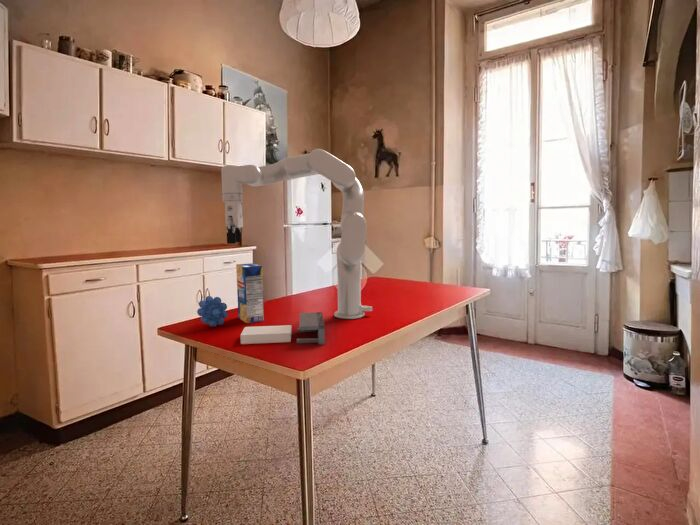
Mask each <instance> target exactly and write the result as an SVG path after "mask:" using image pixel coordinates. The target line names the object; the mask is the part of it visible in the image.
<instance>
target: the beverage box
mask: <svg viewBox="0 0 700 525" xmlns="http://www.w3.org/2000/svg"><path fill="white" fill-rule="evenodd" d="M236 289H237V290H236V292H237V312H238V314H237V315H238V316H237V318H238V319H240V320H241V321H243V322H244V323H246V324H253V323H258V322H259V323H260V322H264V321H265V317H264V314H265V313H264V312H265V311H264V285H263V266H262V265H260V264H256V263H251V262H250V263H238V264H236Z"/></svg>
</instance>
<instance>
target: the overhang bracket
mask: <svg viewBox="0 0 700 525" xmlns="http://www.w3.org/2000/svg"><path fill="white" fill-rule="evenodd" d="M296 331H297V332H296V333H315V332H316V334H317V337H314V338H312V337H311V338H307V337H306V338H296V344H313V343H315V344H316V343H317V344H318V346H319V345H320V346H321V345H325V344H326V343H325V342H326V341H325V340H326V338H325V336H326V334H325V332H326V331H325V321H324V315H323V312H322V311H321V312H300V313H299V327H298V328H297V330H296Z"/></svg>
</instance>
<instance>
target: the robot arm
mask: <svg viewBox="0 0 700 525" xmlns="http://www.w3.org/2000/svg"><path fill="white" fill-rule="evenodd" d="M220 172H221V190H222V192H221V193H222V203H224V220H225V227H226V243H227V244H229V245H231V244H233V245H235V244H237V243H241V242H242V229H241V228H243V227H244V218H243V217H244V216H243V215H244V214H243V206H242V203H244V201H243V200H244V198H243V197H244V196H243V195H244V194H243V192H244V191H243V185H248V186H250V187H260V186H265V185H271V184H276V183H280V182H287V181H290V180H294V179H299V178H304V177H309V176H310V177H311V176H316V175H321V176H322V177H324V178H326V179H327V180H329V181H331V182H332V184H333V186H334V187H335V188H336V189H337V190H339V191H340V192H341V194H342V210H341V218H340V225H339V226H340V229H341V238H340V242H339V243H338V245H337V248H336V265H337V266H336V267H337V270H336V272H337V310H336V311H335V312H334V314H333V315H334V317H335V318H338V319H341V320H342V319H343V320H354V319H361V318H363V317H365V313H366V312H373V306H372V305H371V306H369V305H362V302H361V300H362V297H361V296H362V293H361V292H362V284H361V279H362V277H361V276H362V273H361V272H362V270H361V261H362V260H363V259H364V255H365V250H366V242H367V240H366V239H367V230H368V228H367V227H368V226H367V223H368V222H367V219H366V218H365V216H364V207H365V206H364V203H365V193H364V189H363V186H362V184H361V183H360V182H361V181H360V180H359V179H358V178H357V177H356V176H357V175H356V173H355V170H354V169H353V167H351V166H350V165H349V164H347V163H346V162H344V161H343V160H341V159H339V158H338V157H336V156H334V155H333V154H331V153H329V152H328V151H326V150H324V149H322V148H315V149H312V151H310V152H309V153H303V154H298V155H292V156H287V157H283V158H282V159H280V160H278V161H277V162H274V163H271V164H267V165H262V166H257V165H254V164H246V165H245V164H244V165H230V164H228V165H223V166H222V167H221V171H220Z"/></svg>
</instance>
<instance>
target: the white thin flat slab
mask: <svg viewBox="0 0 700 525" xmlns="http://www.w3.org/2000/svg"><path fill="white" fill-rule="evenodd" d="M292 333H293V331H292V324H287V325H285V324H284V325H262V326H260V325H259V326H245V327H244V328H243V330H242V332H241V333H240V335H239V336H240V345H249V344H250V345H251V344H253V345H255V344H272V343H273V344H275V343H291V340H292V335H293V334H292Z"/></svg>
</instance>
